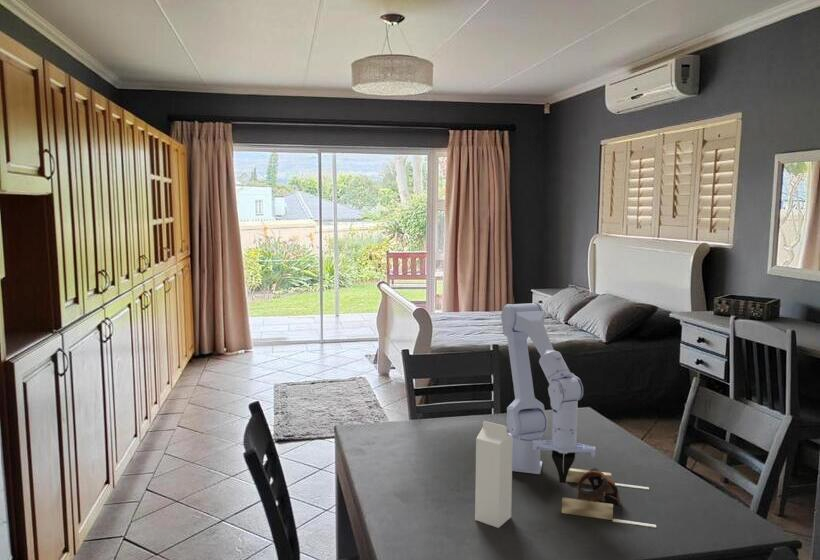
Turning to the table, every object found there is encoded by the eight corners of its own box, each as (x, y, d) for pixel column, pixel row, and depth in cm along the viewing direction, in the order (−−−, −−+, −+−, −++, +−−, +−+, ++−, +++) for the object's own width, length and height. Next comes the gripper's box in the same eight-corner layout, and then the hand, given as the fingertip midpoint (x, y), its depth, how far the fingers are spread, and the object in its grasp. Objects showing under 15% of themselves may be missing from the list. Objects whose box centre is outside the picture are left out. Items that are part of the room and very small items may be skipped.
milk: (488, 509, 140) (489, 416, 138) (511, 517, 137) (513, 422, 134) (474, 520, 135) (475, 424, 133) (498, 528, 132) (500, 430, 130)
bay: (612, 521, 135) (612, 520, 135) (610, 483, 154) (610, 482, 154) (656, 527, 132) (656, 526, 132) (648, 488, 151) (648, 487, 151)
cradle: (561, 512, 139) (562, 500, 139) (565, 478, 156) (566, 467, 156) (612, 520, 136) (613, 507, 135) (610, 484, 153) (611, 473, 153)
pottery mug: (628, 513, 140) (615, 487, 137) (589, 527, 142) (575, 501, 139) (614, 478, 151) (602, 453, 148) (578, 491, 153) (565, 467, 151)
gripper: (531, 429, 144) (530, 484, 146) (596, 436, 140) (593, 492, 141) (534, 419, 151) (533, 472, 152) (596, 425, 147) (594, 479, 148)
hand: (562, 481), depth 147 cm, fingers closed
